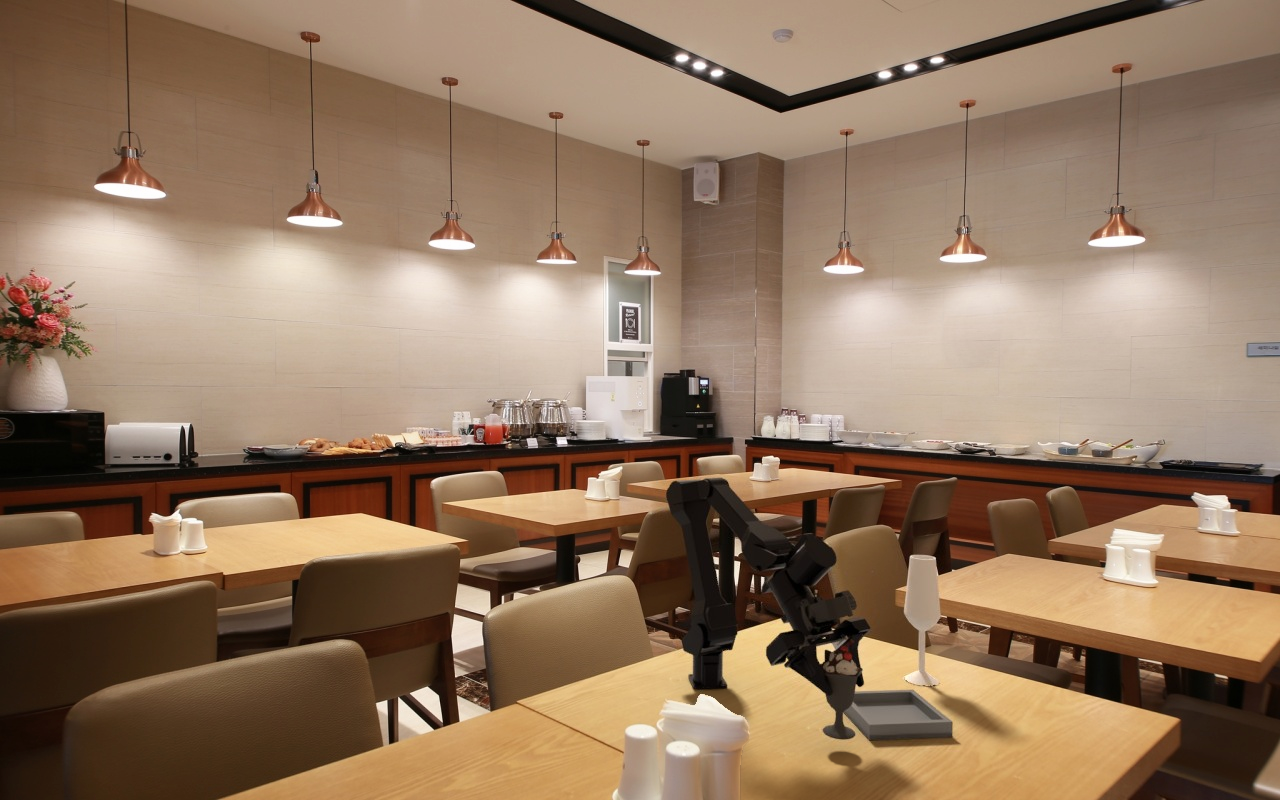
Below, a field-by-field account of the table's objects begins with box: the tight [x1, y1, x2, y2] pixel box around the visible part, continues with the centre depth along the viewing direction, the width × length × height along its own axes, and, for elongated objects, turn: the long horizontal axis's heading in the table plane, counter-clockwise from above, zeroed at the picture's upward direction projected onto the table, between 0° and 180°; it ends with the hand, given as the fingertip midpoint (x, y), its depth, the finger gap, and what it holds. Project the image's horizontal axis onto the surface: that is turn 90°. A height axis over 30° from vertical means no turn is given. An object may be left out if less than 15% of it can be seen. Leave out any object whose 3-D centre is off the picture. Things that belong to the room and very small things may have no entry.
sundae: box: [820, 639, 864, 741], centre depth 121 cm, size 7×7×15 cm
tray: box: [843, 689, 954, 741], centre depth 132 cm, size 14×14×2 cm
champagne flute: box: [903, 554, 942, 686], centre depth 151 cm, size 7×7×24 cm
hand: (846, 690), depth 120 cm, fingers closed on sundae, 6 cm apart
